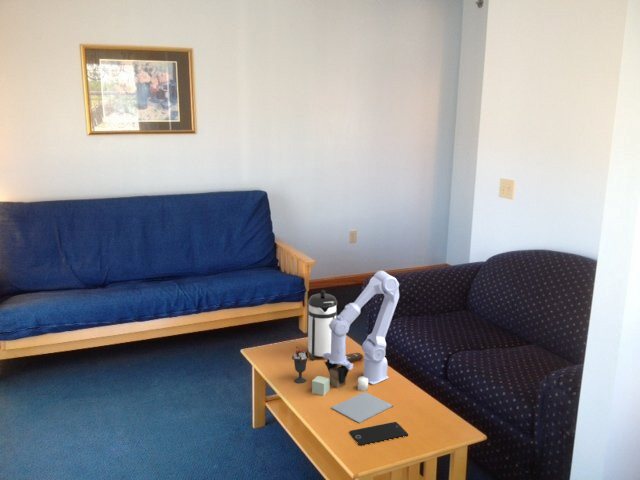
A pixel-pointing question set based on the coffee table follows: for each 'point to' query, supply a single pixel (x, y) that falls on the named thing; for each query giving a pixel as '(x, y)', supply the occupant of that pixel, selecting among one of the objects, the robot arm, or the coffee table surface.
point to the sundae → (300, 364)
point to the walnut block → (335, 377)
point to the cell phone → (378, 433)
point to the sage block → (320, 385)
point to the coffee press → (320, 323)
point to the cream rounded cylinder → (362, 383)
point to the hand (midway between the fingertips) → (337, 380)
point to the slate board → (362, 407)
